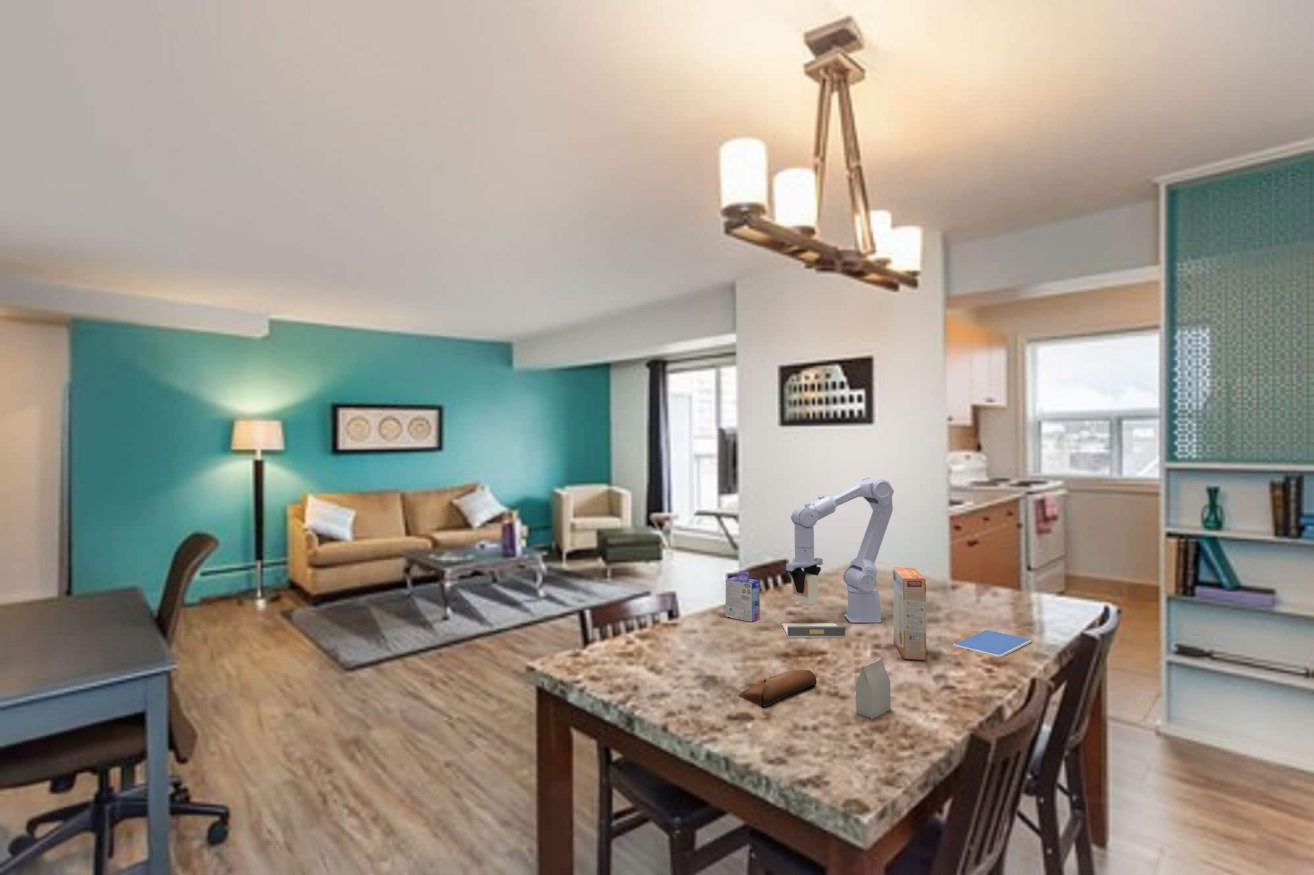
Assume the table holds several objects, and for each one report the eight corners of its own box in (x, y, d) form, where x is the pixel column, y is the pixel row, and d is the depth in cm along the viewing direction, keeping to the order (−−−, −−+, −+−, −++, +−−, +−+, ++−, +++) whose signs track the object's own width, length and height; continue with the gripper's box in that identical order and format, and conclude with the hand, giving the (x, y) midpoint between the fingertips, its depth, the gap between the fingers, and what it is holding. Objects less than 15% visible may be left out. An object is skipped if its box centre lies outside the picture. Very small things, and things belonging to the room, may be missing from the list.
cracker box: (928, 661, 155) (926, 578, 155) (902, 660, 156) (901, 577, 156) (916, 643, 169) (915, 566, 169) (893, 642, 170) (891, 566, 170)
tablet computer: (1000, 660, 157) (1000, 655, 157) (951, 648, 167) (951, 643, 167) (1033, 644, 168) (1033, 639, 168) (985, 633, 178) (985, 628, 178)
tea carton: (800, 597, 192) (800, 571, 192) (818, 602, 187) (818, 575, 187) (791, 599, 190) (791, 573, 190) (809, 604, 184) (809, 577, 184)
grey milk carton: (890, 709, 128) (889, 661, 128) (872, 718, 124) (871, 669, 124) (874, 703, 131) (873, 656, 131) (856, 712, 127) (855, 664, 127)
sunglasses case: (787, 675, 148) (799, 654, 145) (808, 698, 143) (820, 677, 140) (735, 695, 136) (746, 674, 134) (756, 721, 132) (768, 699, 129)
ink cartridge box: (761, 618, 195) (760, 572, 195) (752, 622, 191) (751, 575, 191) (733, 613, 201) (733, 568, 201) (725, 617, 196) (724, 572, 197)
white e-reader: (835, 625, 186) (835, 615, 186) (845, 638, 174) (845, 627, 174) (781, 625, 187) (781, 615, 187) (788, 638, 175) (788, 627, 175)
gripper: (809, 542, 196) (810, 585, 196) (778, 547, 187) (778, 592, 187) (827, 545, 190) (828, 589, 190) (796, 550, 182) (796, 597, 181)
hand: (805, 591), depth 188 cm, fingers closed on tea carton, 4 cm apart
